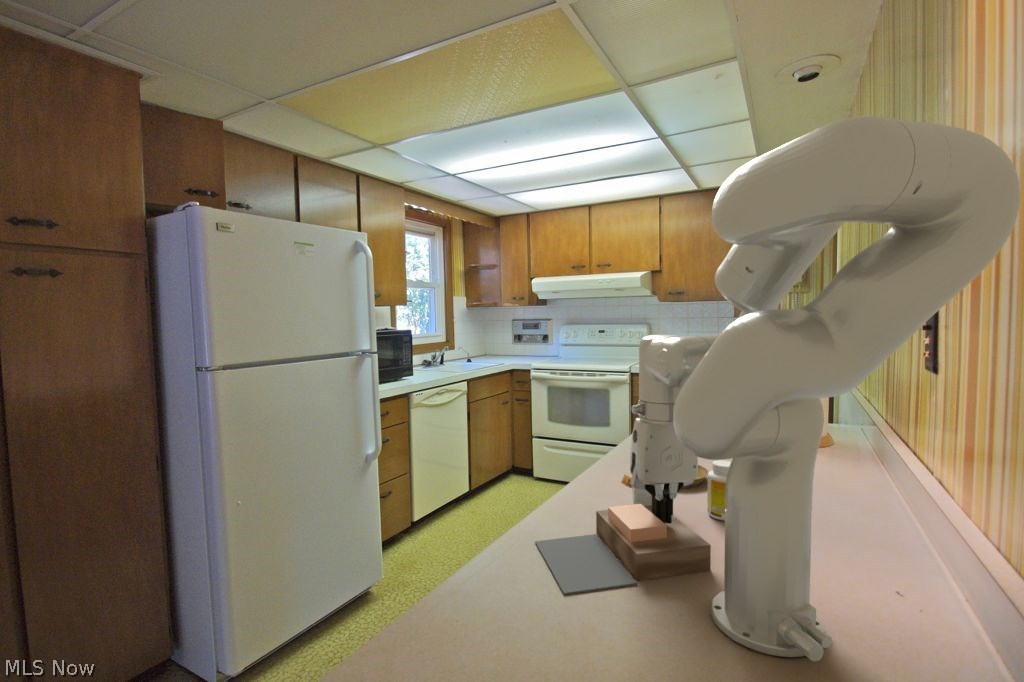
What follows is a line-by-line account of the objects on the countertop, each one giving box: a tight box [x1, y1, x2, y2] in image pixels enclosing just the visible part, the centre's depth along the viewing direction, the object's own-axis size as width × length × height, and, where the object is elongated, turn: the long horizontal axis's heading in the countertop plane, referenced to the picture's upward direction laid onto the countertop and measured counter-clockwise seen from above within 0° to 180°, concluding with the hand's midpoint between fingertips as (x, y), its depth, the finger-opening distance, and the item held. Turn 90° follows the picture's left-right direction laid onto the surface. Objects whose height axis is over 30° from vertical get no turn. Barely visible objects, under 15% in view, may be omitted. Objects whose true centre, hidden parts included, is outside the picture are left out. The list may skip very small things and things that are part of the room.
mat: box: [535, 533, 638, 596], centre depth 78 cm, size 16×11×1 cm
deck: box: [595, 505, 712, 582], centre depth 82 cm, size 16×12×4 cm
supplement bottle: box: [707, 459, 731, 522], centre depth 94 cm, size 6×6×10 cm
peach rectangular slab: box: [607, 503, 667, 542], centre depth 81 cm, size 9×6×2 cm, turn 11°
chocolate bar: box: [620, 474, 633, 490], centre depth 109 cm, size 3×12×2 cm, turn 22°
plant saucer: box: [682, 464, 710, 488], centre depth 116 cm, size 15×15×3 cm
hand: (662, 520), depth 82 cm, fingers closed
